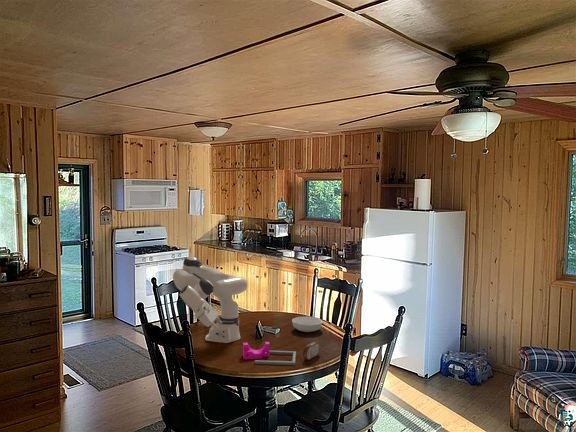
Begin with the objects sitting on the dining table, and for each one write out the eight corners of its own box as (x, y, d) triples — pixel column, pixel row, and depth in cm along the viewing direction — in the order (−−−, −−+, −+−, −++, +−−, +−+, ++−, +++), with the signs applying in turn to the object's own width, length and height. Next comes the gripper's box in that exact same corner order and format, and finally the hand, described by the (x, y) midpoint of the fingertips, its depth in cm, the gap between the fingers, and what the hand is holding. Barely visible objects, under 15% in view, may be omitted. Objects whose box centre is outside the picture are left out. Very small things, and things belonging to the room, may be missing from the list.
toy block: (243, 359, 247) (243, 346, 246) (243, 355, 253) (243, 342, 252) (269, 358, 249) (270, 345, 249) (268, 354, 255) (268, 341, 255)
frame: (254, 363, 240) (254, 361, 240) (258, 352, 257) (258, 350, 257) (294, 365, 239) (294, 362, 239) (296, 353, 256) (296, 351, 256)
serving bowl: (320, 336, 289) (320, 326, 288) (289, 333, 293) (289, 323, 292) (323, 326, 309) (324, 317, 309) (294, 324, 313) (295, 315, 313)
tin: (315, 353, 258) (316, 339, 257) (320, 354, 256) (320, 340, 256) (302, 361, 245) (302, 346, 245) (306, 362, 244) (307, 347, 243)
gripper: (203, 308, 259) (219, 324, 259) (194, 317, 239) (211, 335, 239) (210, 300, 259) (226, 317, 259) (202, 309, 239) (219, 327, 238)
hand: (219, 326), depth 249 cm, fingers open, 8 cm apart
